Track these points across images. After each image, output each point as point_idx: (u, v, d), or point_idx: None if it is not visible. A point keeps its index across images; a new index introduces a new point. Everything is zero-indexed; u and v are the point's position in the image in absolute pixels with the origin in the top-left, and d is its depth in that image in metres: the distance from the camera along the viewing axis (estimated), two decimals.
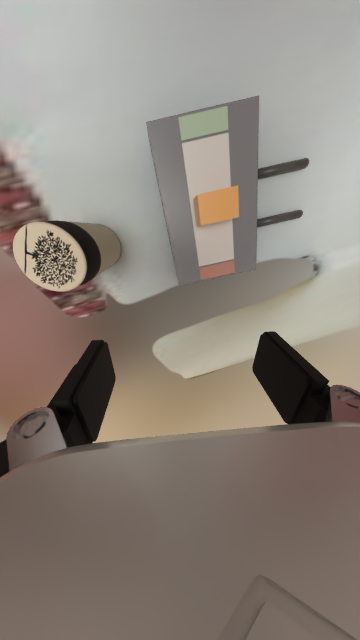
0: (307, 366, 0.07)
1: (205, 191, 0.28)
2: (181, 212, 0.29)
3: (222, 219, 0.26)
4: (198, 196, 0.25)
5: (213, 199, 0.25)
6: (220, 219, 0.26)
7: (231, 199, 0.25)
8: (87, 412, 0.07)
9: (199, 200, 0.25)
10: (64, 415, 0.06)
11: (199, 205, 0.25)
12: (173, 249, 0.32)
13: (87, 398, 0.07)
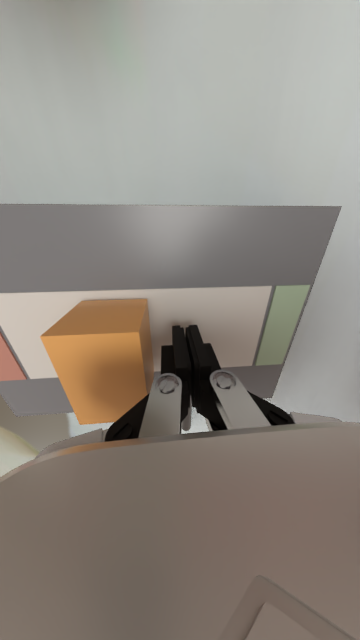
0: (202, 354, 0.08)
1: None
2: (140, 262, 0.10)
3: (69, 393, 0.09)
4: (133, 335, 0.07)
5: (123, 372, 0.08)
6: (69, 388, 0.08)
7: (121, 408, 0.09)
8: None
9: (121, 337, 0.07)
10: (181, 380, 0.08)
11: (107, 335, 0.07)
12: (25, 209, 0.09)
13: None
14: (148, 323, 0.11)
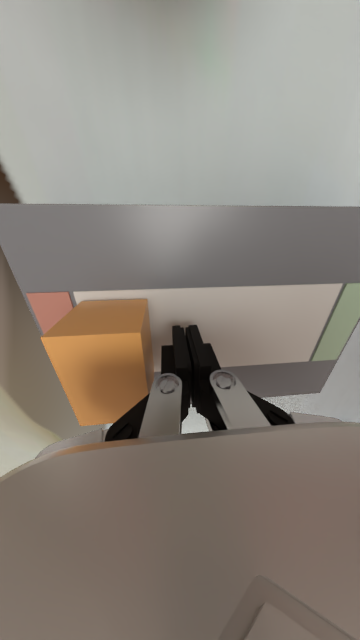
0: (202, 354, 0.08)
1: (248, 322, 0.13)
2: (225, 261, 0.11)
3: (70, 394, 0.09)
4: (134, 335, 0.07)
5: (124, 373, 0.08)
6: (69, 390, 0.08)
7: (122, 409, 0.09)
8: None
9: (122, 337, 0.07)
10: (181, 380, 0.08)
11: (108, 336, 0.07)
12: (131, 210, 0.09)
13: None
14: (148, 323, 0.11)
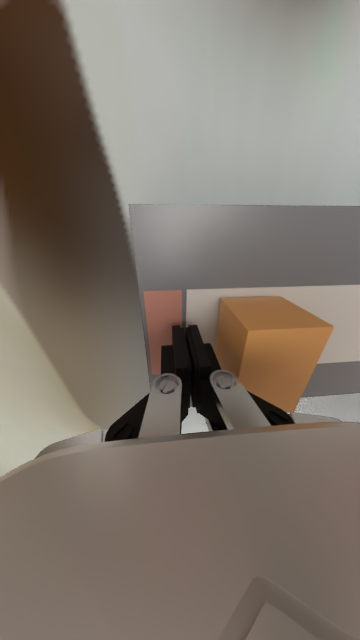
0: (202, 354, 0.08)
1: (339, 320, 0.13)
2: (334, 260, 0.11)
3: None
4: (327, 329, 0.08)
5: (297, 366, 0.09)
6: (242, 381, 0.09)
7: (274, 401, 0.10)
8: None
9: (317, 331, 0.08)
10: (181, 380, 0.08)
11: (304, 330, 0.08)
12: (262, 210, 0.09)
13: None
14: None
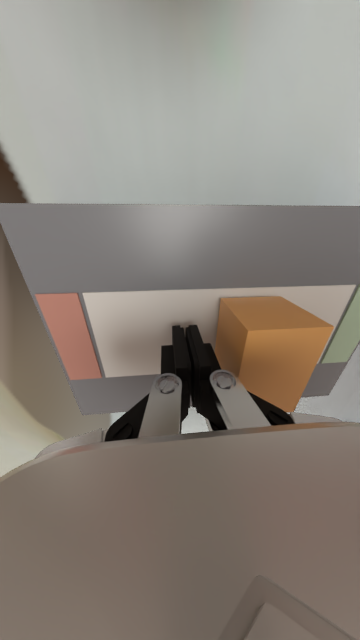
0: (202, 354, 0.08)
1: None
2: (237, 262, 0.10)
3: None
4: (327, 329, 0.08)
5: (297, 366, 0.09)
6: (242, 381, 0.09)
7: (275, 401, 0.10)
8: None
9: (317, 331, 0.08)
10: (181, 380, 0.08)
11: (304, 330, 0.08)
12: (143, 209, 0.09)
13: None
14: None
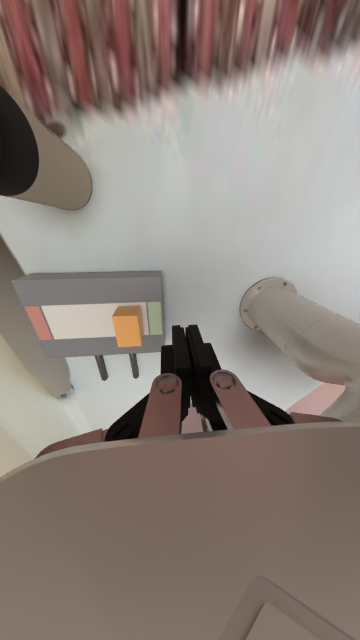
0: (202, 354, 0.08)
1: None
2: (94, 295, 0.30)
3: (116, 334, 0.29)
4: (135, 316, 0.28)
5: (133, 328, 0.28)
6: (116, 333, 0.29)
7: (131, 341, 0.30)
8: None
9: (132, 316, 0.28)
10: (181, 380, 0.08)
11: (128, 316, 0.27)
12: (57, 280, 0.28)
13: None
14: (140, 314, 0.31)
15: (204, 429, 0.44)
